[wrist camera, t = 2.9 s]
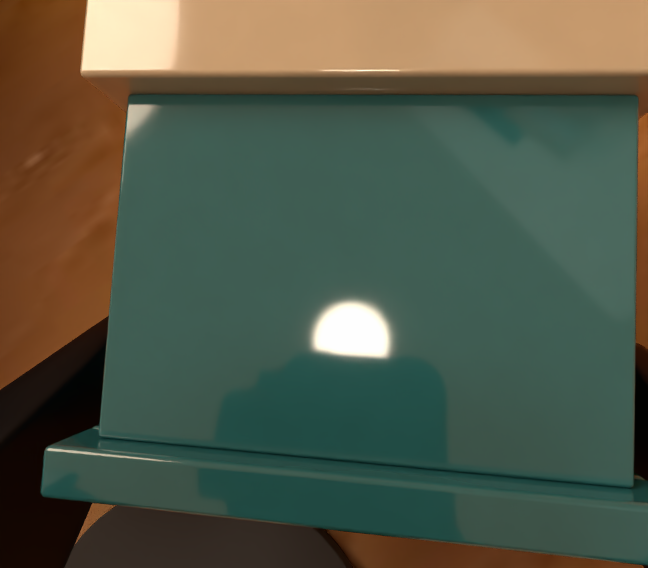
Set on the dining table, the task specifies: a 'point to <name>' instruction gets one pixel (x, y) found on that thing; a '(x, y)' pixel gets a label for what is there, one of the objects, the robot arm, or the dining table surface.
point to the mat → (200, 543)
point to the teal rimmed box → (374, 269)
